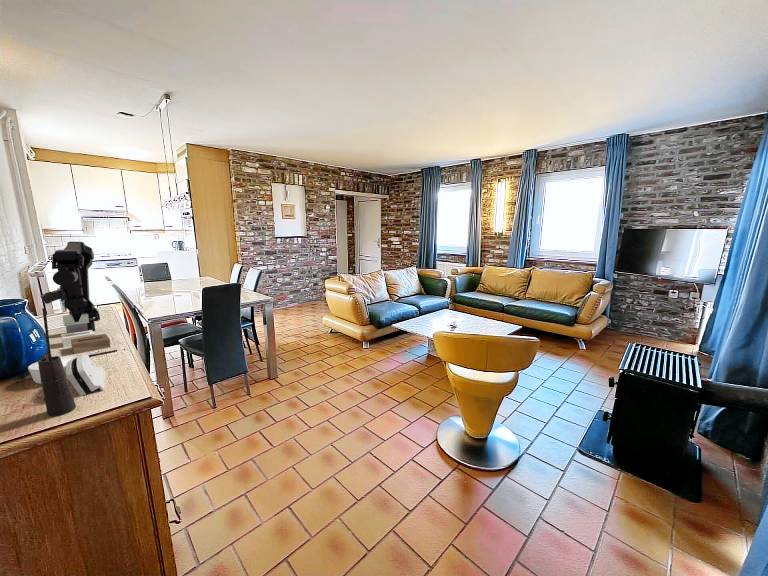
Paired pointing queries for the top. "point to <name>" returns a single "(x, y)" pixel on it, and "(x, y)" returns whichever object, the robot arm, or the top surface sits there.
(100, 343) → the channel mount plate
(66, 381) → the butter churn
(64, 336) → the holder
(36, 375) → the ramekin
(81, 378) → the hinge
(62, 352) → the top surface
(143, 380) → the top surface
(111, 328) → the top surface
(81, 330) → the pale grey block
